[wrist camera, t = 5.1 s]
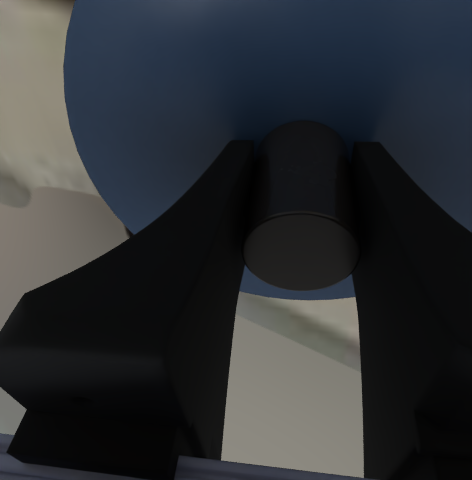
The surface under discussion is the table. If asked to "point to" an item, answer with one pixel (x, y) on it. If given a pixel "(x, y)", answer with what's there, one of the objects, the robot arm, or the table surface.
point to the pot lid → (273, 115)
